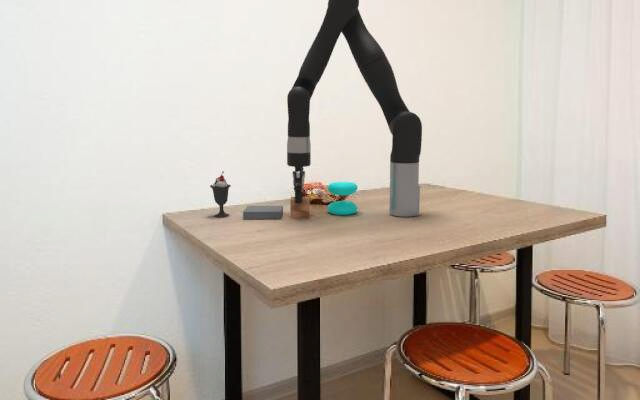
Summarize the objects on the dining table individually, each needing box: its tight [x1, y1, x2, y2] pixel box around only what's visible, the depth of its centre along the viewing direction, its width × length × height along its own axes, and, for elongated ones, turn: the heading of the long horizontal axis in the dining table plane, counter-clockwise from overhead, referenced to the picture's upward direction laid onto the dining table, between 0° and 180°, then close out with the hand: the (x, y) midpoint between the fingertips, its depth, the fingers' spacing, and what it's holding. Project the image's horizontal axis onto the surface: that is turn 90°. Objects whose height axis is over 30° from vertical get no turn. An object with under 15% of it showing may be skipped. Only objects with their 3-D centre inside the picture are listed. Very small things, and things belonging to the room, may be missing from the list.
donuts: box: [327, 181, 358, 216], centre depth 162 cm, size 10×10×10 cm
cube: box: [289, 196, 311, 219], centre depth 158 cm, size 6×6×6 cm
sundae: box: [209, 170, 231, 218], centre depth 159 cm, size 7×7×15 cm
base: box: [242, 205, 284, 221], centre depth 159 cm, size 12×10×3 cm
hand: (298, 200), depth 158 cm, fingers open, 8 cm apart
